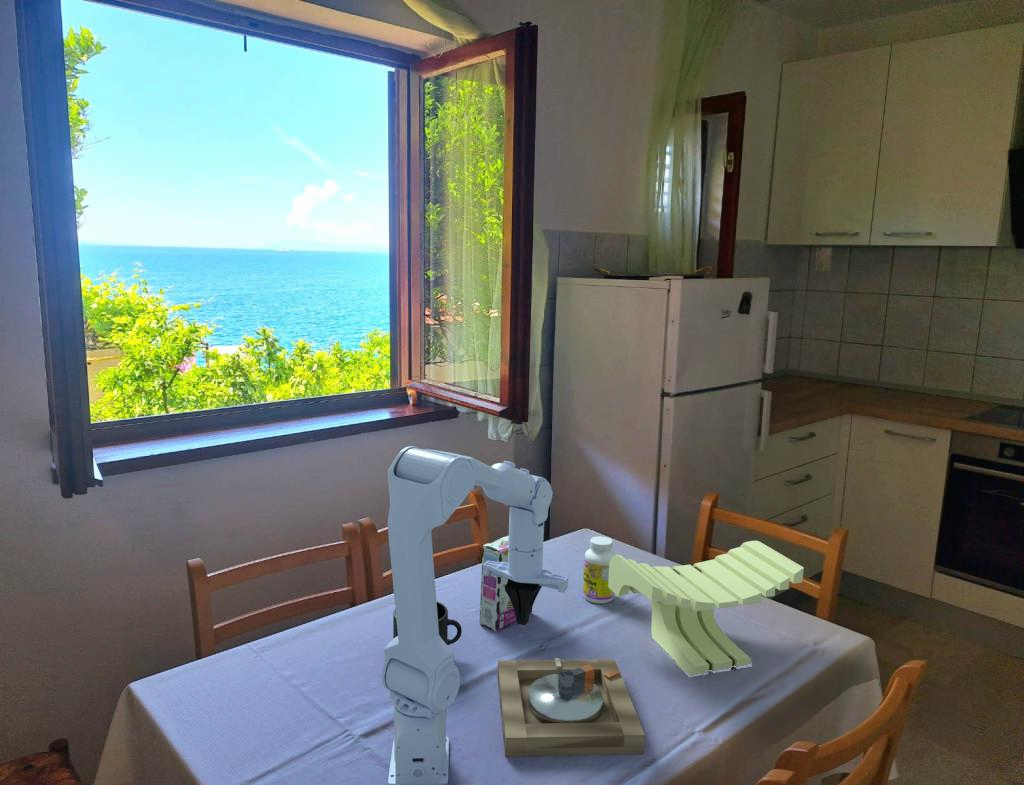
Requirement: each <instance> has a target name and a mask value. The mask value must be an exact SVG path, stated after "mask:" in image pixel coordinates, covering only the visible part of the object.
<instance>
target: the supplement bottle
mask: <svg viewBox="0 0 1024 785" xmlns="http://www.w3.org/2000/svg"><path fill="white" fill-rule="evenodd" d="M613 542H614V541H613V539H612V538H610V537H607V536H593V537H591V538H590V540H589V546H590V548H589V549H587V550H586V551H585V553H584V564H583V566H584V567H583V581H582V596H583V598H584V599H585V600H587V601H588V602H590V603H593V604H599V605H600V604H602V605H603V604H607V603H610V602H612V601H613V600H614V598H615V593H614V592H613V591H612V590H611V589H610V588H609V587H608V579H609V564H610V560H611V558H612V557H613V556H614V555H617V554H616V553H615V552H614V551H613V550H612V549H613V547H614V546H613V545H614V544H613Z"/></svg>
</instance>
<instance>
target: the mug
mask: <svg viewBox="0 0 1024 785" xmlns="http://www.w3.org/2000/svg"><path fill="white" fill-rule="evenodd" d="M436 602H437V615H438V628H439V636H440V637H441V638H442V640H443V641H444V642H445V643H446V645H447V646H450V645H452V644H454V643H456V642H458V641H459V639H460V638H461V636H462V632H463V629H462V625H461V624H460V622H458V621H457V620H456V619H450V618H449V611H448V607H447V606H446V605H445V604H443V603H442V602H439V601H437V600H436ZM392 616H393V621H392V622H393V623H392V625H393V629H392V630H393V631H392V632H393V634H392V635H393V636H392V640H393V639H394V638H395V637H397V636H398V631H397V621H396V610H395V609H394V610H393V615H392ZM449 626H454V627H455V628H456V634H455V636H454V637H453V638H449V637H448V636H449V634H448V631H449V629H448V628H449Z"/></svg>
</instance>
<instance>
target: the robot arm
mask: <svg viewBox="0 0 1024 785" xmlns="http://www.w3.org/2000/svg"><path fill="white" fill-rule="evenodd" d="M387 484H388V494H389V503H390V504H389V510H388V515H387V516H388V517H387V532H388V535H387V536H388V542H389V543H388V544H389V554H390V555H389V556H390V566H391V567H390V568H391V574H392V576H391V577H392V587H393V597H394V598H393V599H394V607H395V608H394V610H396V621H397V631H398V636H397V637H395V638H394V639H393V638H392V639H391V640H390V642H388V644H387V645H386V646H385V647H384V649H383V652H384V662H383V666H382V670H381V671H382V672H381V682H382V685H383V687H384V688H385V689H386V690H388V691H390V692H389V696H390V697H389V698H390V700H391V701H393V703H394V705H393V708H394V710H393V712H394V714H393V721H394V722H393V727H394V728H393V733H394V734H393V740H392V741H393V742H392V748H391V755H390V762H389V771H388V775H387V776H388V778H387V785H448V783H449V763H450V762H449V758H450V756H449V755H450V754H449V752H450V750H449V749H450V746H449V745H450V738H449V736H447V714H448V713H447V712H448V711H447V709H448V708H449V707H450V706H451V705H452V704H453V703H454V701H455V700H456V698H457V696H458V693H459V691H460V685H461V674H460V670H459V668H458V667H457V666H456V663H455V654H454V653H453V651H452V649H451V648H450V647H449V645H446V643H445V642H444V641H443V640H442V638H441V637H440V636H439V628H438V615H437V602H438V601H437V591H436V577H435V566H434V553H433V552H434V551H433V538H432V537H433V536H432V531H433V529H434V528H438V527H441V526H443V525H444V524H445V523H446V522H447V521H448V520H449V519H450V517H452V515H453V514H454V512H455V511H456V510H457V509H458V508H459V507H460V506H461V504H462V503H463V502H464V501H465V499H467V497H468V495H469V493H470V492H473V491H474V487H475V486H477V487H481V488H482V490H483V492H484V494H485V496H486V497H487V498H489V499H490V500H493V501H496V502H499V503H502V504H504V505H505V507H508V506H509V514H508V515H509V517H508V518H509V519H508V520H509V521H508V535H509V545H508V562H495V561H489V560H488V561H487V562H485V563H484V564H483V575H485V576H489V575H493V576H498V577H503V578H507V579H508V581H507V584H506V585H505V591H506V593H507V594H508V596H509V598H510V600H511V603H512V605H513V608H514V612H515V616H516V620H517V621H516V624H517V625H519V626H523V627H525V626H526V625H527V624H528V622H529V621H530V617H531V614H532V613H531V610H532V611H533V606H534V604H535V602H536V599H537V596H538V595H539V592H540V590H542V587H544V588H548V589H553V590H557V592H558V593H561V594H562V593H563V594H564V593H565V592H566V590H568V588H569V587H568V586H569V577H568V576H564V575H561V574H559V573H556V572H553V571H551V570H548V569H546V568H544V567H543V559H544V558H543V557H544V537H545V536H544V532H545V521H547V519H548V517H549V508H550V505H551V503H552V498H553V496H554V495H553V494H554V493H553V492H554V491H553V490H552V486H551V483H550V482H549V481H548V480H547V479H546V478H545V477H542V476H538V475H533V474H530V470H528V469H526V468H521V467H520V469H518V468H516V463H515V462H512V461H507V460H503V462H497V463H494V464H492V465H488V464H486V463H484V462H482V461H481V460H478V459H476V458H474V457H472V456H468V455H461V454H458V453H454V452H447V451H443V450H436V449H430V448H423V449H422V448H419V447H417V446H413V445H410V446H405V447H404V448H403V449H401V450H400V452H399V453H397V455H396V456H395V458H394V460H393V462H391V465H390V467H389V468H388V469H387ZM436 601H437V602H436Z"/></svg>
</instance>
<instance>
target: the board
mask: <svg viewBox="0 0 1024 785" xmlns="http://www.w3.org/2000/svg"><path fill="white" fill-rule="evenodd" d="M588 664H589V665H591V666H592V667H593V668H594V669H595V670H594V684H595V685H596V686H597V687H598V688H599V689H600V691H601V692H602V695H603V706H602V712H601V715H600V716H599V717H598V719H596V720H595V721H594V722H592V723H553V724H547V723H545V722H543V721H541V720H540V719H538V718H537V717H536V716H534V715H533V713H532V712H531V711H530V709H529V706H528V691H529V688H530V686H531V685H532V683H533V682H535V681H536V680H537V679H539V678H541V677H544V676H547V675H552V674H559V672H561V671H564V670H567V671H570V670H573V669H577V668H580V667H582V666H585V665H588ZM496 676H497V687H498V697H499V706H500V715H501V727H502V729H501V730H502V736H503V738H502V739H503V746H504V747H503V748H504V756H505V758H512V757H513V758H514V757H515V758H519V757H523V758H524V757H525V758H526V757H561V756H564V757H565V756H566V757H567V756H568V757H569V756H598V755H599V756H603V755H604V756H605V755H607V756H608V755H612V756H613V755H639V754H638V753H644V752H645V742H646V740H645V739H646V734H645V732H644V728H643V727H642V724H641V721H640V719H639V716H638V714H637V712H636V709H635V706H634V704H633V701H632V698H631V697H630V693H629V691H628V689H627V686H626V684H625V681H624V679H623V676H622V673H621V671H620V669H619V665H618V664H617V661H616V658H605V659H604V658H601V659H599V658H593V659H592V658H591V659H590V658H589V659H585V658H583V659H582V658H581V659H560V657H554V659H524V660H523V659H519V660H517V659H516V660H514V659H513V660H512V659H511V660H506V659H505V660H504V659H503V660H501V659H500V660H499V659H498V660H497V675H496Z"/></svg>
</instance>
